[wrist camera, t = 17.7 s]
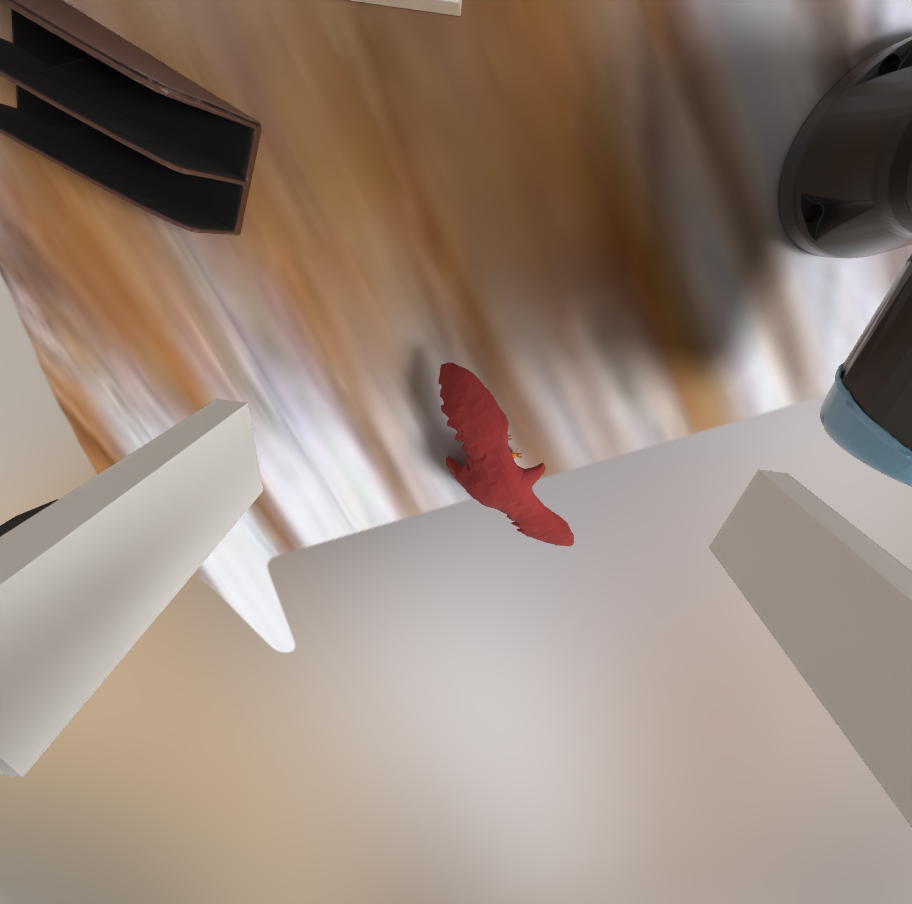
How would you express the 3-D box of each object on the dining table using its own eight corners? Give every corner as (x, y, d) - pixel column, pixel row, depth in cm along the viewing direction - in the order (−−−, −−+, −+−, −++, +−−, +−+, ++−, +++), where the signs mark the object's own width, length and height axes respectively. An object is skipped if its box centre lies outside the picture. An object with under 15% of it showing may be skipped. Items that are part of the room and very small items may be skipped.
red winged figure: (525, 508, 60) (607, 534, 47) (487, 552, 56) (566, 592, 44) (428, 355, 48) (504, 335, 35) (374, 398, 45) (437, 393, 32)
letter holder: (22, -27, 30) (-289, -202, 18) (264, 125, 34) (145, 65, 22) (29, 118, 35) (-214, 57, 23) (241, 236, 39) (132, 238, 27)
